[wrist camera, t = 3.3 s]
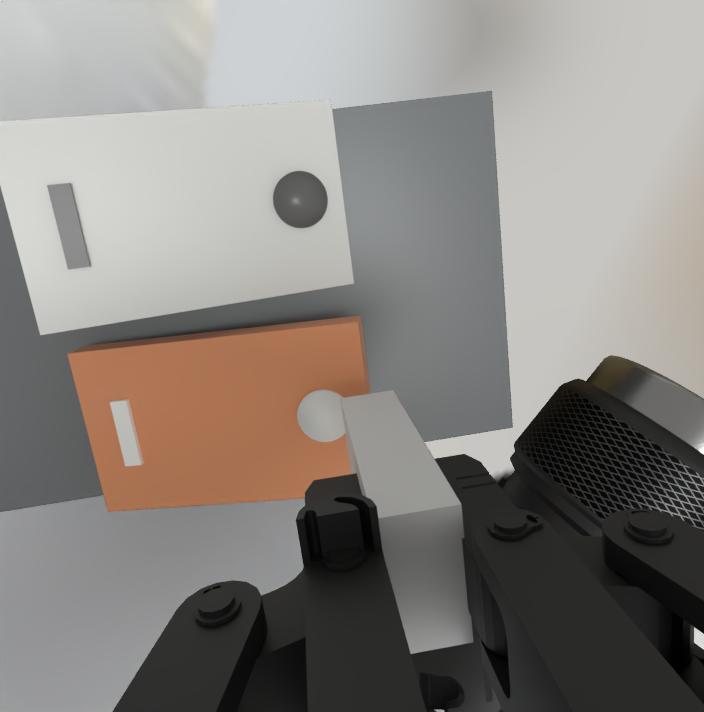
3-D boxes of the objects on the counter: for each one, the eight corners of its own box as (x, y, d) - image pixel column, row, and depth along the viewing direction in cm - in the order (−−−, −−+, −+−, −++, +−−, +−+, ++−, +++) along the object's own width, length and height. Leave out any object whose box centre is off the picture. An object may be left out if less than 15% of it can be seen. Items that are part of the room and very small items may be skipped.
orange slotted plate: (124, 495, 21) (105, 514, 20) (87, 345, 20) (64, 354, 19) (381, 477, 20) (379, 495, 19) (360, 315, 19) (357, 323, 17)
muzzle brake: (233, 726, 31) (207, 965, 21) (550, 323, 28) (700, 377, 18) (368, 791, 33) (403, 1037, 23) (677, 425, 30) (875, 524, 20)
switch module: (-111, 485, 26) (-221, 556, 20) (-215, 196, 22) (-379, 186, 17) (473, 392, 28) (519, 433, 22) (451, 118, 25) (499, 86, 19)
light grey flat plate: (48, 329, 18) (39, 336, 16) (-4, 131, 16) (-19, 120, 15) (343, 281, 20) (356, 283, 19) (321, 108, 19) (332, 98, 18)
